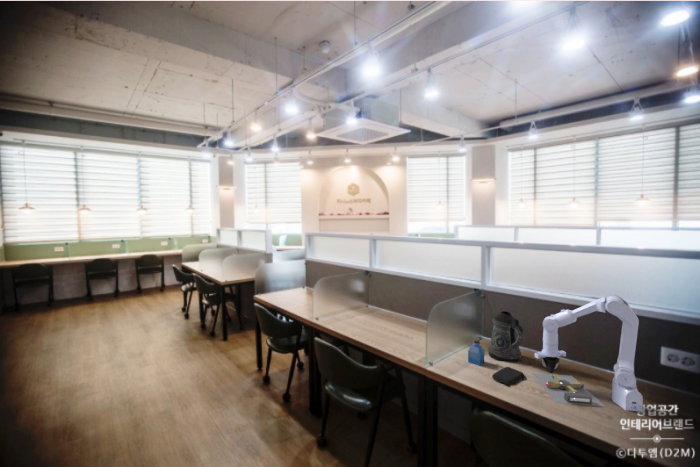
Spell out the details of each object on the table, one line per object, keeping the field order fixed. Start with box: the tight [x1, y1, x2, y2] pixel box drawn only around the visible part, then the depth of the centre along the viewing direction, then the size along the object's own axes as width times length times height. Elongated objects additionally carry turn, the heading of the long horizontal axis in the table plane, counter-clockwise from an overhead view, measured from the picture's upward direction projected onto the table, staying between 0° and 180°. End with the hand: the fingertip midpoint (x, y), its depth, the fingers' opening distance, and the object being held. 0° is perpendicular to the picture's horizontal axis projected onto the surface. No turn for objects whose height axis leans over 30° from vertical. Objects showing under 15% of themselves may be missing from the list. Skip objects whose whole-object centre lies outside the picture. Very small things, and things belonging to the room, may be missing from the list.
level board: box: [531, 372, 606, 408], centre depth 134 cm, size 24×18×1 cm
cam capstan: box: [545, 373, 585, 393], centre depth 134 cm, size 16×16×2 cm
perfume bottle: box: [467, 338, 485, 367], centre depth 160 cm, size 6×6×12 cm
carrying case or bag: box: [491, 366, 526, 387], centre depth 143 cm, size 11×3×15 cm
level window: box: [564, 392, 592, 404], centre depth 123 cm, size 3×9×3 cm, turn 81°
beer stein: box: [487, 310, 526, 363], centre depth 165 cm, size 16×19×25 cm
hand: (550, 372), depth 138 cm, fingers closed
